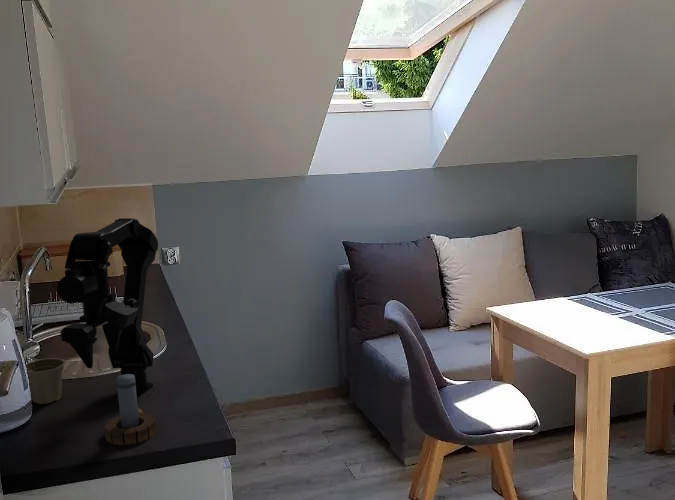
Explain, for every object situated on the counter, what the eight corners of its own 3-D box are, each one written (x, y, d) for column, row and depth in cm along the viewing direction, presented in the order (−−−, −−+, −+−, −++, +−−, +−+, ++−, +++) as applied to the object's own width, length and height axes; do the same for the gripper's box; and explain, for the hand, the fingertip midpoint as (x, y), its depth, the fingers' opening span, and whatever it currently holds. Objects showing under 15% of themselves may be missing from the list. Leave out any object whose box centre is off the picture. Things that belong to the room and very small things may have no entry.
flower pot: (64, 388, 170) (60, 355, 168) (72, 400, 162) (68, 366, 161) (23, 397, 165) (19, 363, 164) (29, 410, 157) (25, 375, 156)
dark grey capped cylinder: (121, 432, 145) (115, 375, 143) (139, 428, 146) (134, 372, 144) (122, 439, 142) (116, 381, 139) (141, 435, 143) (135, 378, 140)
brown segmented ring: (122, 421, 150) (121, 410, 149) (164, 425, 147) (163, 414, 147) (96, 442, 140) (95, 431, 140) (140, 447, 138) (139, 435, 137)
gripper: (103, 304, 137) (110, 378, 140) (151, 282, 155) (156, 348, 157) (55, 302, 140) (63, 375, 142) (107, 280, 157) (113, 346, 160)
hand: (102, 360), depth 151 cm, fingers open, 9 cm apart
